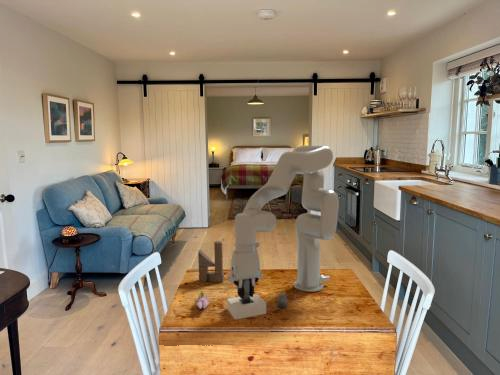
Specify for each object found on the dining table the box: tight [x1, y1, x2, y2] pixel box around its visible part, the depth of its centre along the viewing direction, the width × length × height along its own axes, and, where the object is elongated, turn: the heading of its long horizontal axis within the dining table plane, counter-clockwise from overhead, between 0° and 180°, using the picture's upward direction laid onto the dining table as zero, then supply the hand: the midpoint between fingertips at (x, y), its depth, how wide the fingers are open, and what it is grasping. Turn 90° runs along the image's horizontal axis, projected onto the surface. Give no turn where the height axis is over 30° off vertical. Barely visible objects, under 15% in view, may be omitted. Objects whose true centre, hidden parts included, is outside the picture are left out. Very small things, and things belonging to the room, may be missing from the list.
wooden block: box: [197, 240, 225, 283], centre depth 168 cm, size 4×11×18 cm, turn 85°
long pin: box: [242, 279, 250, 304], centre depth 137 cm, size 3×3×11 cm
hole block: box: [226, 293, 267, 320], centre depth 138 cm, size 12×9×4 cm
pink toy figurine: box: [194, 290, 212, 310], centre depth 143 cm, size 6×6×15 cm
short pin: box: [277, 293, 288, 310], centre depth 142 cm, size 3×3×4 cm
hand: (245, 296), depth 138 cm, fingers closed on long pin, 3 cm apart
